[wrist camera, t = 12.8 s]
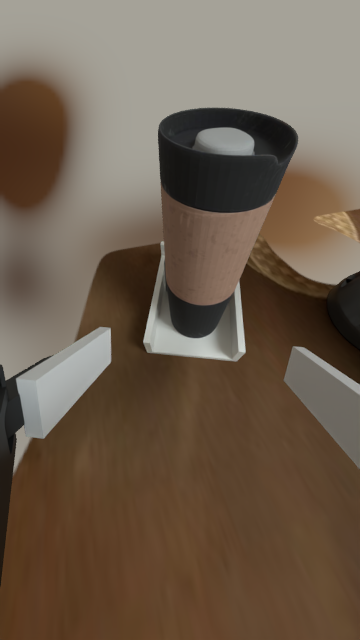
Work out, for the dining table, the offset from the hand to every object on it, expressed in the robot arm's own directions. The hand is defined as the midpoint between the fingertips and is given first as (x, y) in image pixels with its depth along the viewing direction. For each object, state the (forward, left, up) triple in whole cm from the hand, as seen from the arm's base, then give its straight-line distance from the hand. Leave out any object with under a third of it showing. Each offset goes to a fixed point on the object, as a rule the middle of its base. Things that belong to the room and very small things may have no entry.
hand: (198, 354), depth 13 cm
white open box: (0, -11, -11) cm, 16 cm away
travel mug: (0, -9, -11) cm, 14 cm away
